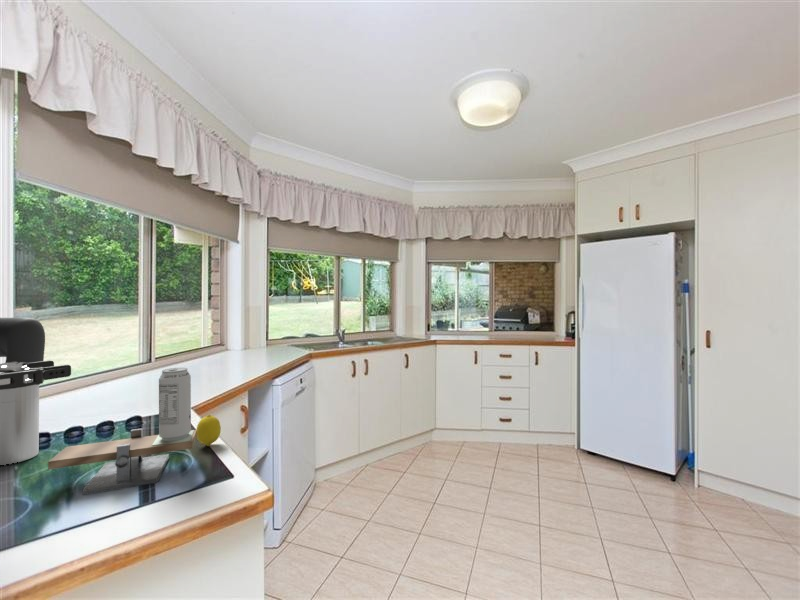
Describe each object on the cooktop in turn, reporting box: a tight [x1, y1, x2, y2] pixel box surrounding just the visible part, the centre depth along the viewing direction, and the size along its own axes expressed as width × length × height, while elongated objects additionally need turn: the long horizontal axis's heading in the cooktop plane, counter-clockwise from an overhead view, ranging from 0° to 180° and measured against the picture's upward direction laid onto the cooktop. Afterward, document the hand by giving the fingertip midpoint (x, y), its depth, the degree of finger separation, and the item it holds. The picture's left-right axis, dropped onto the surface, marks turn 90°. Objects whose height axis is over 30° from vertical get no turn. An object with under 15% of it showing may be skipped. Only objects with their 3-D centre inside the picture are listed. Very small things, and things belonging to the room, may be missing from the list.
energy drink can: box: [158, 367, 192, 441], centre depth 81 cm, size 6×6×15 cm
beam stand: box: [82, 427, 170, 496], centre depth 78 cm, size 12×13×8 cm
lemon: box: [195, 414, 222, 447], centre depth 94 cm, size 6×6×8 cm
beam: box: [47, 429, 197, 470], centre depth 78 cm, size 24×8×2 cm, turn 113°
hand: (61, 367), depth 71 cm, fingers open, 8 cm apart
